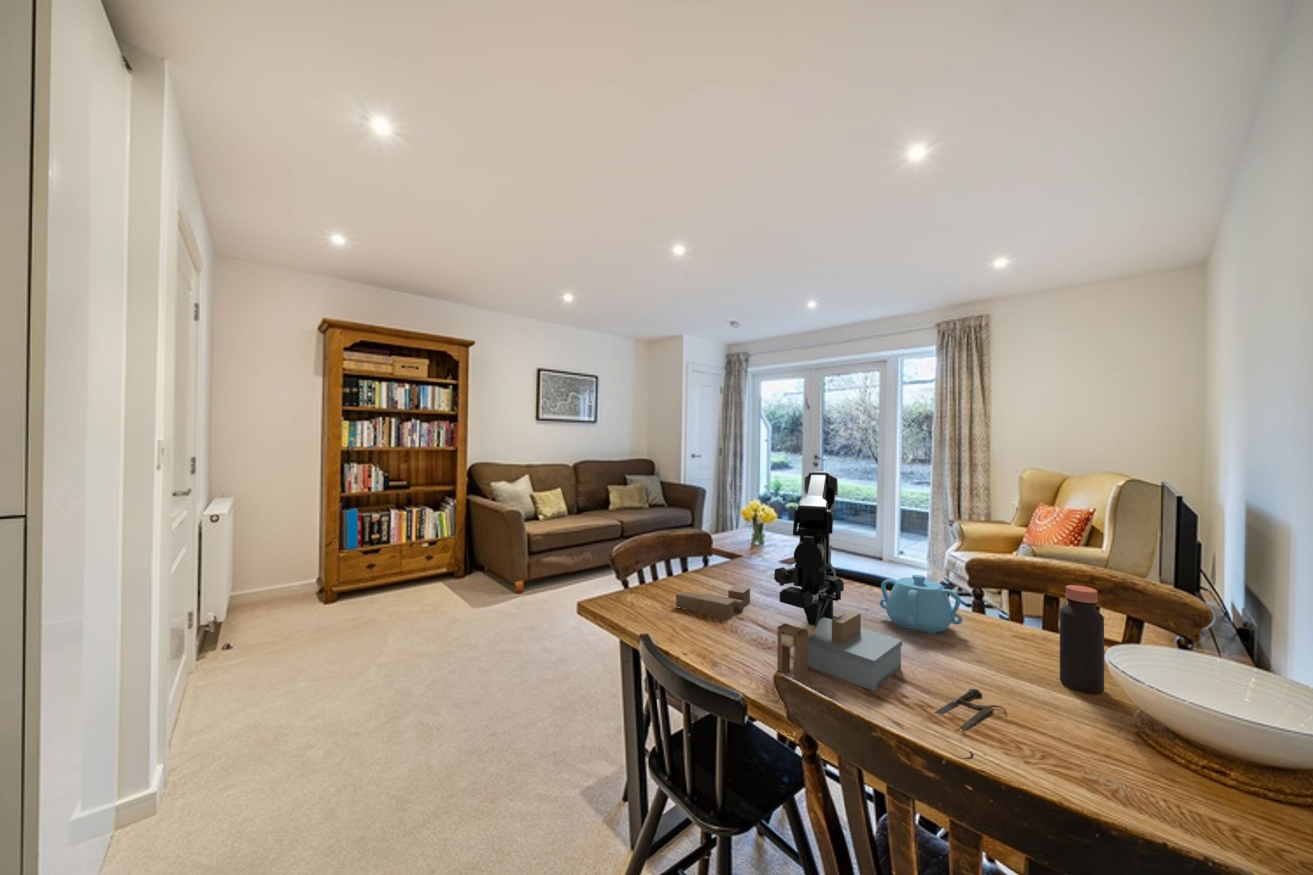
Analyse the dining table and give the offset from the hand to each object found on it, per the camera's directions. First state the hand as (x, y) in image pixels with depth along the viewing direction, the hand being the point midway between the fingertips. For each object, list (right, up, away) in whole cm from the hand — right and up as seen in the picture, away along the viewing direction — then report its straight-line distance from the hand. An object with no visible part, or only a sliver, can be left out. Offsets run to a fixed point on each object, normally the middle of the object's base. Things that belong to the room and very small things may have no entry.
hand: (812, 627), depth 109 cm
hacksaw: (+20, -8, -23) cm, 32 cm away
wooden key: (-4, -1, -4) cm, 6 cm away
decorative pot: (+36, -8, +21) cm, 42 cm away
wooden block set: (-18, -8, +36) cm, 41 cm away
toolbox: (+5, -8, -4) cm, 10 cm away
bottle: (+51, -8, -11) cm, 53 cm away
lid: (+7, -3, -1) cm, 8 cm away
